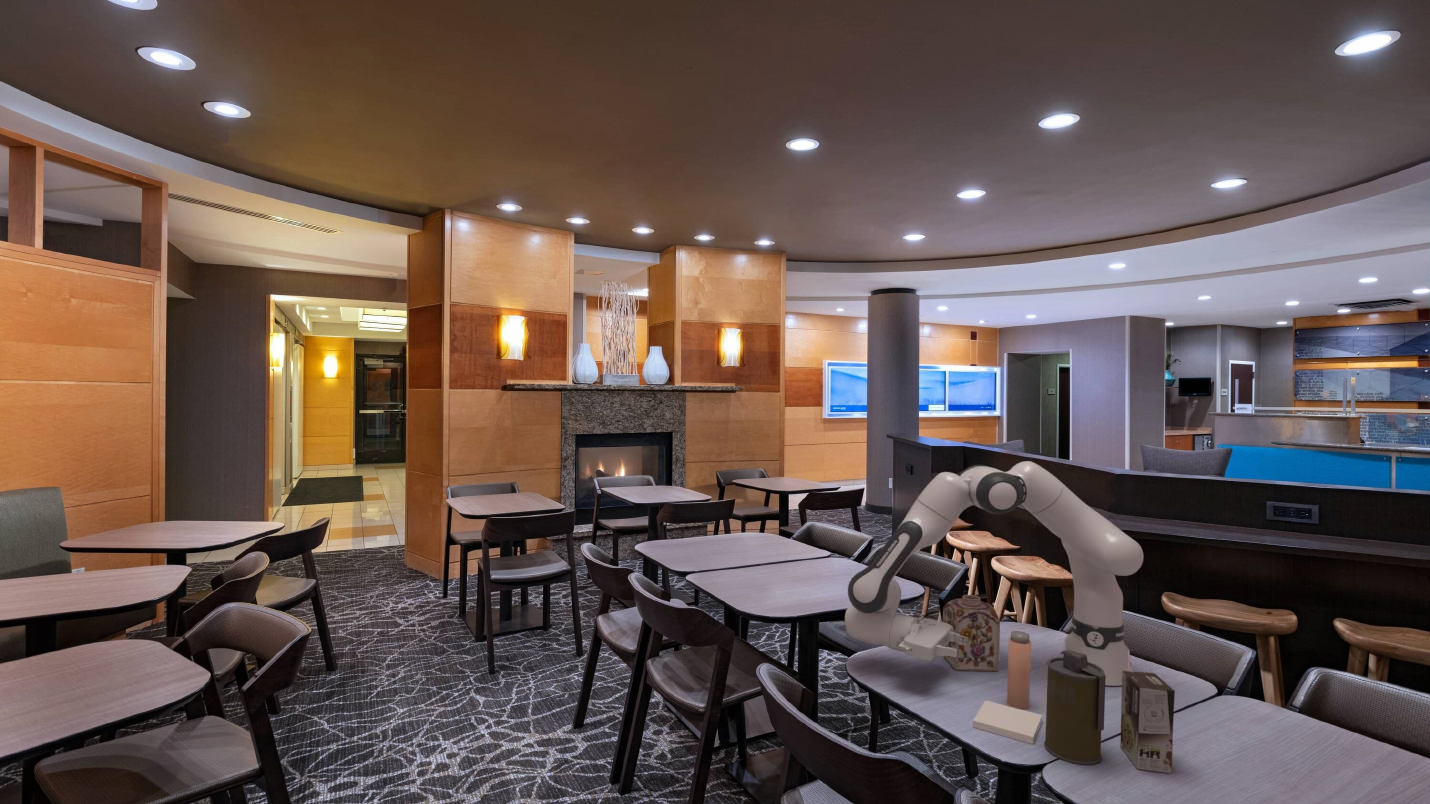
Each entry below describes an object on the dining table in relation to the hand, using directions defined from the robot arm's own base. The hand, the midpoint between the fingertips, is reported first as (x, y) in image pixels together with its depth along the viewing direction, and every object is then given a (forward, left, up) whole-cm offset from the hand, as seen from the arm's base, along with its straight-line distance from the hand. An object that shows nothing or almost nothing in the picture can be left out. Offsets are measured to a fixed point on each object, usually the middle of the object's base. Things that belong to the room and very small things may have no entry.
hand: (962, 647), depth 167 cm
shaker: (0, +13, -11) cm, 17 cm away
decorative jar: (-19, -3, -11) cm, 22 cm away
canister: (+16, +26, -11) cm, 33 cm away
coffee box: (+11, +38, -11) cm, 41 cm away
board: (+12, +13, -11) cm, 20 cm away
